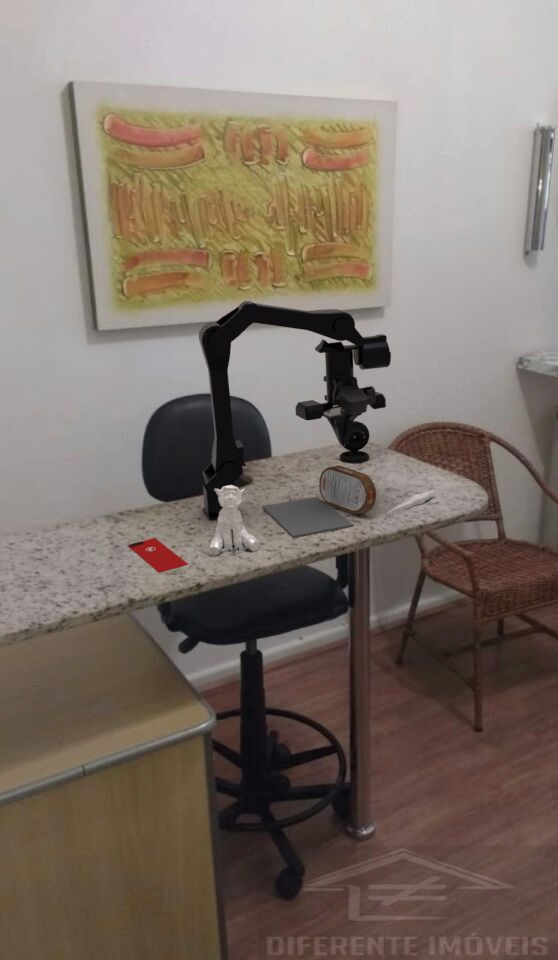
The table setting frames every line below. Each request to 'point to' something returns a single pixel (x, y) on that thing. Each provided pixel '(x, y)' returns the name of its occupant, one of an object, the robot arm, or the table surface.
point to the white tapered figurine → (413, 501)
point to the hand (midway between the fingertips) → (342, 444)
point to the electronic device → (157, 555)
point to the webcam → (356, 444)
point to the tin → (347, 489)
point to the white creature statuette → (231, 524)
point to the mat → (306, 516)
